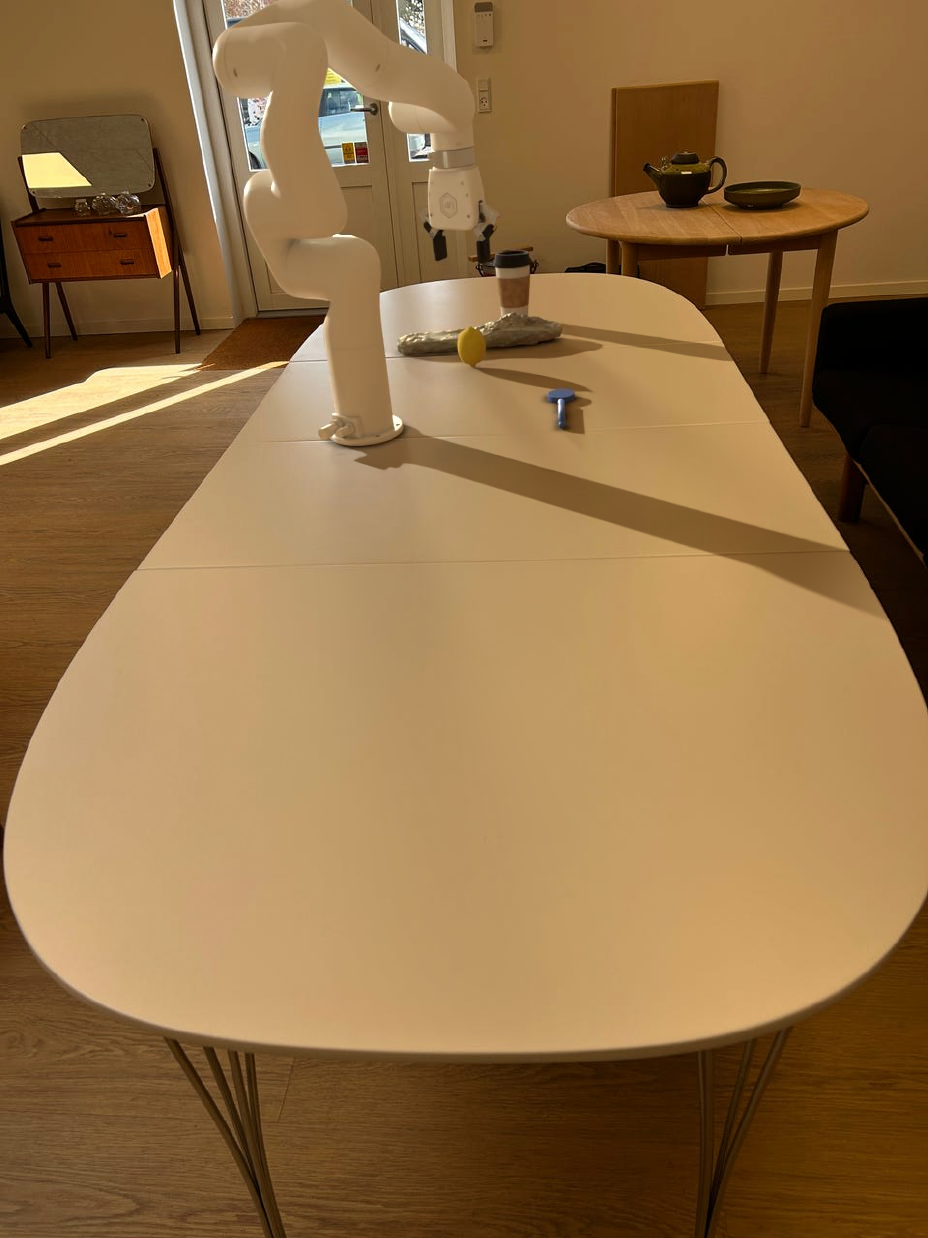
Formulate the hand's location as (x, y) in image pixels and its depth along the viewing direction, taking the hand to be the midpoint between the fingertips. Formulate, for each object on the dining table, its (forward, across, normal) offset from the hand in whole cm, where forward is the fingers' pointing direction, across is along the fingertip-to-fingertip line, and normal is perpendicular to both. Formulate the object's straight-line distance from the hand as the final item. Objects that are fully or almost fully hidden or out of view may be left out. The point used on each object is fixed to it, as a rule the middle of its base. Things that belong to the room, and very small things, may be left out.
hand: (462, 260), depth 174 cm
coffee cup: (+21, -10, +33) cm, 41 cm away
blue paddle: (+20, +28, -14) cm, 38 cm away
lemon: (+21, 0, +1) cm, 21 cm away
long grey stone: (+21, -7, +14) cm, 26 cm away
